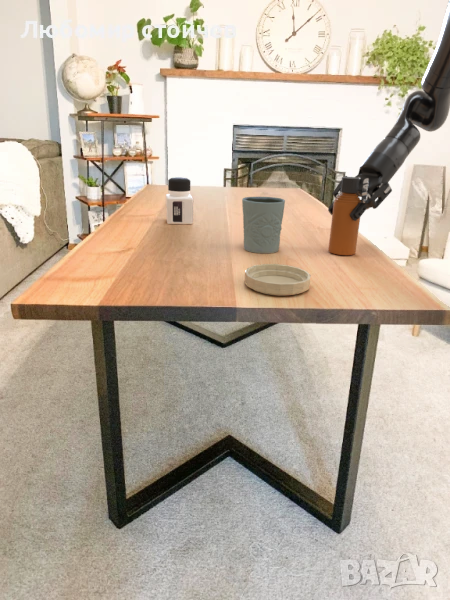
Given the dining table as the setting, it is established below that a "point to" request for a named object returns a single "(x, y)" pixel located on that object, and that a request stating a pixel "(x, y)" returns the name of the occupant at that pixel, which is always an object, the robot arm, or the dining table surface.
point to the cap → (350, 184)
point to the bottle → (344, 225)
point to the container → (179, 202)
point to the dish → (277, 279)
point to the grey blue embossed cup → (262, 223)
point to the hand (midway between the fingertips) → (341, 215)
